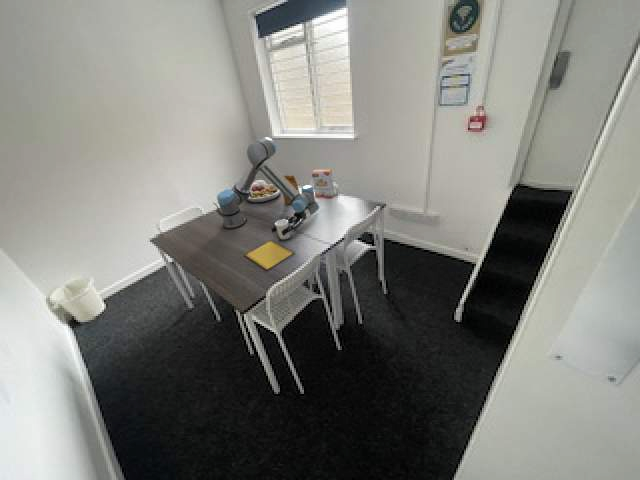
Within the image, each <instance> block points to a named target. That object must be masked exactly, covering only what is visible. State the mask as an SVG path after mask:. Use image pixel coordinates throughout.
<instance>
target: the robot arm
mask: <svg viewBox="0 0 640 480" xmlns="http://www.w3.org/2000/svg"><path fill="white" fill-rule="evenodd" d="M276 152H277V146H276V143H275V141H274V140H273V139H272V138H270V137H269V136H264V137H261V138H260V139H258V140H256V141H253V142H252V143H250V144H249V145H248V147H247V149H246V156H247V159H248V163H247V165H246V167H245V169H244V171H243V173H242V174H241V177H240V178H239V180H237V181H236V182H235V183H234V185H233V187H232V188H231V189H224V190H222V191H220V192H219V193H218V194H217V196H216V199H217V202H218V205H219V206H218V205H217V203H215V202H213V205H215V206H216V209H217V211H218V212H219V214H220V215H222V216H223V226H224V228H225V229H232V230H233V229H237V228H240V227H242V226H243V225H245V224H246V222H247V219H246V216H244V214H243V212H241V209H240V205H241V204H243V203H244V202H245V201H248V200H247V199H248V198H249V197H250V195H251V189H252V187H253V184H254V182H255V180H256V178H257V177H258V175H259V173H260V172H261V174H263V175H264V176H265V177H266V179H268V181H269V182H270V183H272V185H275V186H276V187H277V188H278V189H279V190H280V191H281V192H280V193H282V195H283V194H284V195H285V196H286V197H287V198H288V199H289V200H290V201H291V203H292V204H291V206H292V210H293V211H295V212H294V213H293V215H292V216H289V215H286V216H285V217H283V218H282V219H286V220H288V223H289V227H287V228H286V229H284V230H283V231H282V235H283V236H284V235H285V234H286V233H288V232H290V233H291V231H297V230H298V229H299V228H300V227H301V226H303V224H305V221H306V220H307V219H308V218H309V217H311V216H312V215H314V214H316V213H317V212H318V211H319V209H320V204H319V202H318V201H317V200H316V199H315V198H316V197H315V191H314V186H312V185H308V184H307V185H303V186H302V187H301V193H300V191H299V192H298V191H297V190H296V189H295V188H294V187H293V186H292V185H291V184H290V183H289V182H288V181H287V180H286V179H285V178H284V177H283V176H284V175H283V174H282V173H281V172H280V171H279V170H278V168H276V167H275V166H274V165H273V164H272V163H271V162H270V159H271V157H273V156H274V155H275V154H276ZM219 208H220V209H219ZM220 210H221V211H220ZM271 232H272V233H273V234H274V233H275V232H277V229H276V226H275V225H274V226H273V227H271Z"/></svg>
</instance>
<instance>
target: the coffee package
mask: <svg viewBox="0 0 640 480" xmlns="http://www.w3.org/2000/svg"><path fill="white" fill-rule="evenodd" d="M283 177H284V178H285V179H286V180H287V181H288V182H289V183H290V184H291V185H292V186H293V187H294V188H295V189H296V190H297V191H298V192H299V193H300V190H299V186H298V183H297V180H296V178H295V176H294V175H283ZM282 196H283V201H284V205H292V203H291V201H290V200H289V199H288V198H287V197H286V196H285V195H284V194H283V193H282Z"/></svg>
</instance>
